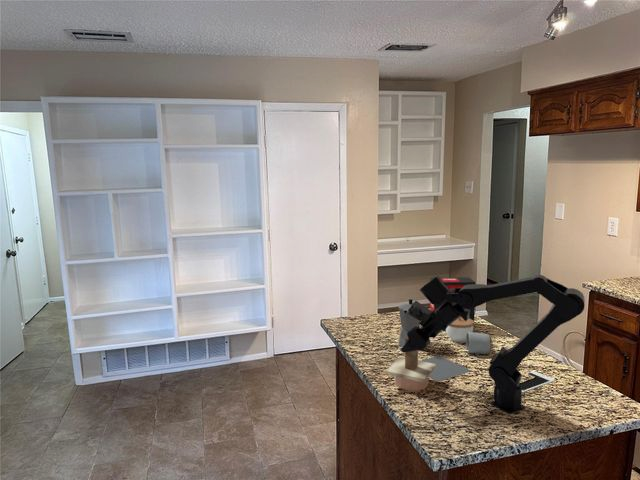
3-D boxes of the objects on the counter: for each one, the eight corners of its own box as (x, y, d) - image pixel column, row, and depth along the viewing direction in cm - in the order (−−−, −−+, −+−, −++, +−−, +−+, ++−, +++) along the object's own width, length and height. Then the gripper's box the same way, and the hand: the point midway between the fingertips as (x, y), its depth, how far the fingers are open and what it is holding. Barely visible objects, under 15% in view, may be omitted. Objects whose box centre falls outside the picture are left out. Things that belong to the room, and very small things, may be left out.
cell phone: (555, 381, 139) (555, 379, 139) (521, 394, 132) (521, 392, 132) (533, 372, 146) (533, 370, 146) (499, 383, 138) (499, 382, 138)
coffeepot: (416, 353, 162) (417, 305, 160) (392, 348, 167) (392, 302, 165) (428, 339, 176) (429, 295, 173) (405, 336, 180) (406, 292, 178)
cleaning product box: (467, 322, 196) (469, 277, 193) (473, 328, 187) (475, 282, 185) (429, 322, 197) (430, 277, 194) (434, 329, 188) (435, 282, 185)
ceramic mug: (492, 357, 157) (493, 336, 156) (468, 356, 159) (468, 335, 158) (486, 347, 168) (487, 327, 167) (463, 346, 169) (464, 326, 168)
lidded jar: (475, 345, 169) (476, 321, 168) (446, 344, 171) (446, 320, 170) (470, 335, 180) (471, 312, 178) (443, 334, 181) (443, 312, 180)
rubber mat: (471, 372, 146) (471, 370, 146) (437, 383, 139) (437, 381, 139) (439, 356, 159) (439, 355, 159) (406, 365, 152) (406, 364, 152)
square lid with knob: (436, 367, 140) (436, 334, 138) (424, 382, 130) (425, 347, 128) (399, 359, 146) (399, 328, 144) (385, 374, 136) (385, 340, 134)
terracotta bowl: (434, 386, 136) (435, 372, 136) (409, 395, 132) (409, 380, 131) (413, 374, 145) (413, 361, 144) (388, 381, 140) (388, 368, 140)
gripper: (434, 288, 140) (400, 317, 147) (414, 302, 124) (377, 334, 132) (459, 316, 137) (423, 344, 144) (442, 334, 121) (403, 365, 129)
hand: (407, 346), depth 137 cm, fingers open, 9 cm apart
